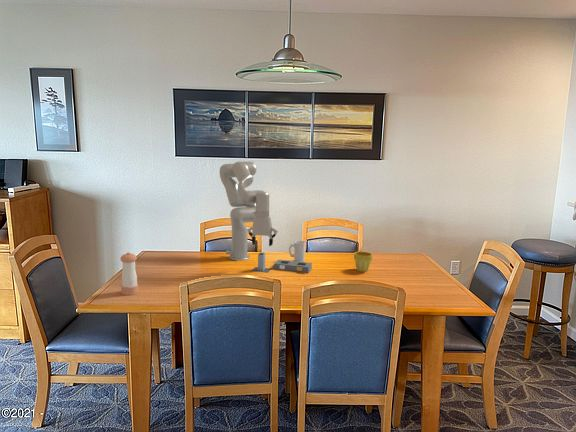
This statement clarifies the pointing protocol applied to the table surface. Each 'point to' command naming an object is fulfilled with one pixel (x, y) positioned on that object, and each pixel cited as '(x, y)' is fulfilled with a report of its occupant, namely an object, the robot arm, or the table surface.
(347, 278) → the table surface
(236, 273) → the table surface
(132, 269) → the salt shaker
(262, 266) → the plug
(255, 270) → the mat
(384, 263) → the table surface
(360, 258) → the plant pot
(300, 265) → the socket strip
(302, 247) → the mug
